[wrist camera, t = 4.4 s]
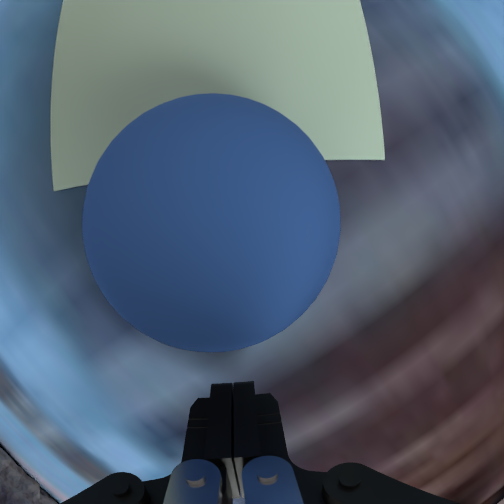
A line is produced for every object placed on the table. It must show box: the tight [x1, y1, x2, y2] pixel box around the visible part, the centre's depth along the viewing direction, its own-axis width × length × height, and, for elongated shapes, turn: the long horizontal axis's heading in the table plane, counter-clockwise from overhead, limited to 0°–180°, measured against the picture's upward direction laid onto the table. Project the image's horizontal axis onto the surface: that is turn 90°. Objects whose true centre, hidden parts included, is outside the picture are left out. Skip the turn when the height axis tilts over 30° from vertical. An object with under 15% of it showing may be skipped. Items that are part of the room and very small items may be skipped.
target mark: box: [51, 0, 385, 191], centre depth 8 cm, size 12×12×1 cm
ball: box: [82, 93, 340, 352], centre depth 7 cm, size 6×6×6 cm
